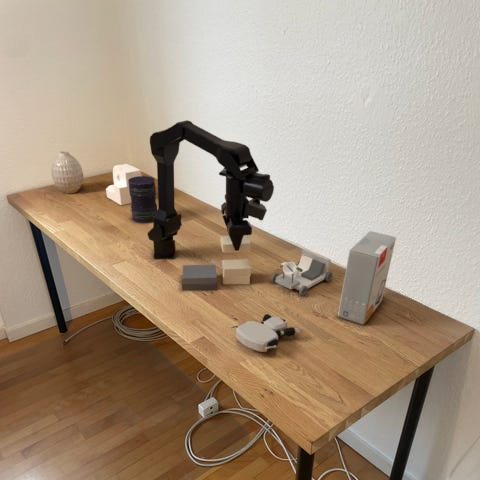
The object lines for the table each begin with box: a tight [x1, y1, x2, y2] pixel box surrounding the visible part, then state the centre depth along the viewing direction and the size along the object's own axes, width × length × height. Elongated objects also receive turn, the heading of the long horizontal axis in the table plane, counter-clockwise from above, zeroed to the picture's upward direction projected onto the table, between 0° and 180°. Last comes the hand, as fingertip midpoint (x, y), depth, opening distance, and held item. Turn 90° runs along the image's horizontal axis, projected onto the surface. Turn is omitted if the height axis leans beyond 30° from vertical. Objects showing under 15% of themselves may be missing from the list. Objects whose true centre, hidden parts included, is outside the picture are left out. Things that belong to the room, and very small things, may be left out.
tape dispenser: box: [105, 163, 142, 206], centre depth 201 cm, size 16×10×13 cm, turn 41°
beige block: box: [221, 258, 252, 285], centre depth 145 cm, size 8×6×5 cm
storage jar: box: [128, 175, 158, 224], centre depth 181 cm, size 10×10×15 cm
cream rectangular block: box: [219, 235, 252, 254], centre depth 140 cm, size 8×6×3 cm
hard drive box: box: [337, 230, 397, 326], centre depth 128 cm, size 16×8×20 cm, turn 148°
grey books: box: [181, 264, 218, 291], centre depth 143 cm, size 10×9×4 cm
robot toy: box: [228, 313, 301, 353], centre depth 119 cm, size 12×4×15 cm
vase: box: [50, 150, 84, 194], centre depth 206 cm, size 13×13×17 cm
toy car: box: [270, 248, 333, 297], centre depth 142 cm, size 18×10×12 cm
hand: (235, 245), depth 140 cm, fingers closed on cream rectangular block, 6 cm apart
